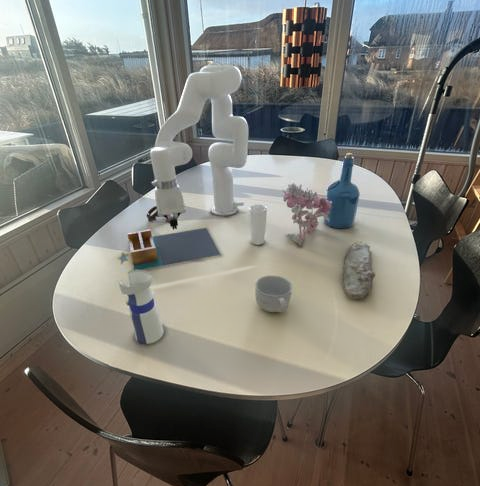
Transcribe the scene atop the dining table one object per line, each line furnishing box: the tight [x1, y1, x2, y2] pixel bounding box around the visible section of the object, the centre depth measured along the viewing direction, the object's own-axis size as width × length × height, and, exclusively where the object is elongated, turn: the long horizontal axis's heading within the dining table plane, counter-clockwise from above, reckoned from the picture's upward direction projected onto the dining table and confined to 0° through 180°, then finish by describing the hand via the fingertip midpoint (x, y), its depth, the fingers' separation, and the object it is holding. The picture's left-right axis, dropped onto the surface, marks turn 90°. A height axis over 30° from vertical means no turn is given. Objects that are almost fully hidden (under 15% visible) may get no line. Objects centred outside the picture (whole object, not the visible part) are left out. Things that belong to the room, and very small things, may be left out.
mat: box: [133, 227, 221, 270], centre depth 129 cm, size 32×24×1 cm
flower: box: [281, 182, 332, 247], centre depth 130 cm, size 20×22×25 cm
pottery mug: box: [145, 205, 170, 224], centre depth 149 cm, size 12×10×8 cm
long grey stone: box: [342, 241, 376, 300], centre depth 111 cm, size 35×5×10 cm
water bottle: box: [117, 251, 165, 345], centre depth 83 cm, size 8×9×25 cm
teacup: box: [254, 275, 293, 313], centre depth 95 cm, size 14×11×8 cm
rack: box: [127, 229, 158, 266], centre depth 124 cm, size 9×16×6 cm, turn 20°
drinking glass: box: [248, 204, 268, 246], centre depth 127 cm, size 7×7×15 cm
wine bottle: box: [323, 152, 361, 229], centre depth 136 cm, size 14×13×30 cm
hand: (174, 227), depth 129 cm, fingers closed
